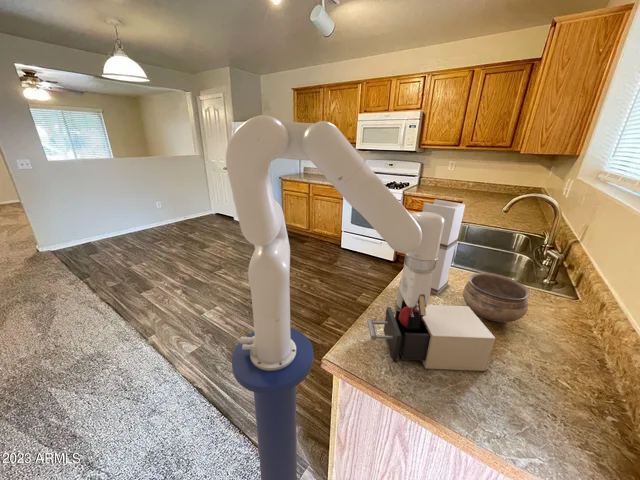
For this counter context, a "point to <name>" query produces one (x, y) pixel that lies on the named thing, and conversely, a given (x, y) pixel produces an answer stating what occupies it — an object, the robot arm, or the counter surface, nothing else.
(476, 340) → the cream rectangular box
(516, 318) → the cooking pot
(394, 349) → the dark pull-out drawer
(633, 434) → the counter surface
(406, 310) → the onion
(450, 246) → the tall white column
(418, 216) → the robot arm
